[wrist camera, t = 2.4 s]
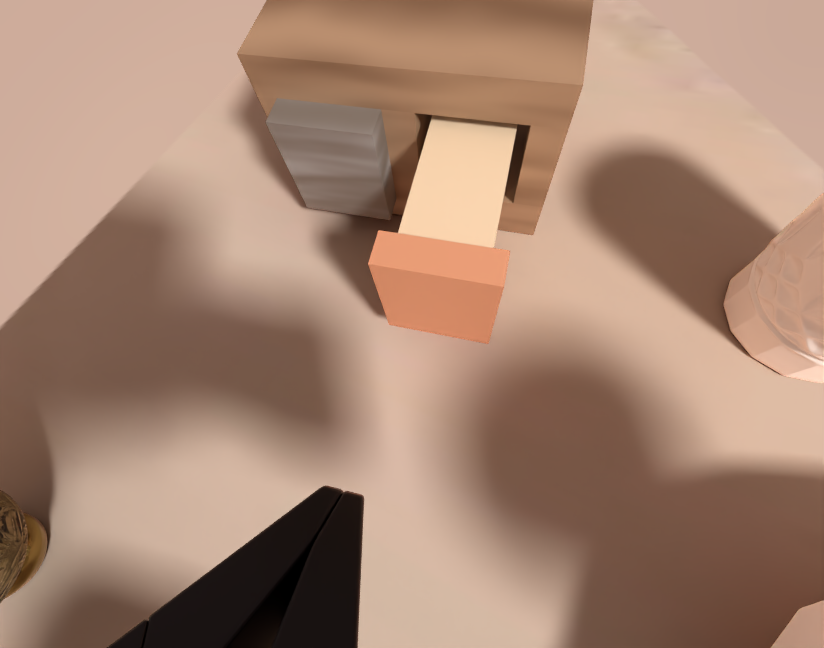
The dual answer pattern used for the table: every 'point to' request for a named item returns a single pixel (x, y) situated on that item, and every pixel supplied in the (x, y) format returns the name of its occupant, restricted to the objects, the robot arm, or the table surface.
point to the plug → (449, 233)
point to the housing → (414, 91)
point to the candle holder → (804, 629)
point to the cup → (18, 546)
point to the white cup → (784, 299)
